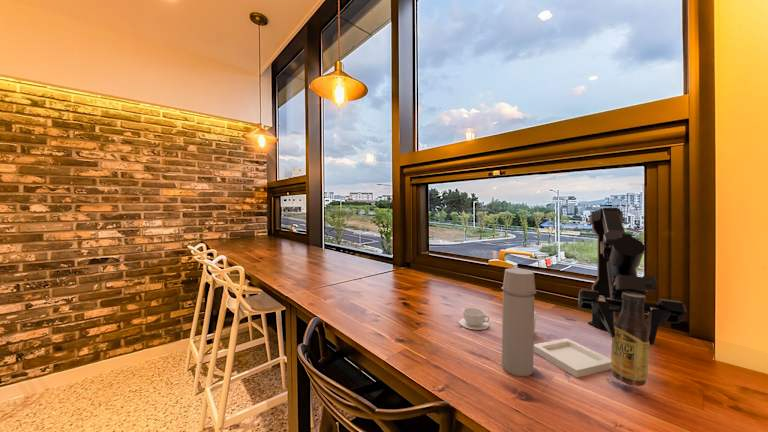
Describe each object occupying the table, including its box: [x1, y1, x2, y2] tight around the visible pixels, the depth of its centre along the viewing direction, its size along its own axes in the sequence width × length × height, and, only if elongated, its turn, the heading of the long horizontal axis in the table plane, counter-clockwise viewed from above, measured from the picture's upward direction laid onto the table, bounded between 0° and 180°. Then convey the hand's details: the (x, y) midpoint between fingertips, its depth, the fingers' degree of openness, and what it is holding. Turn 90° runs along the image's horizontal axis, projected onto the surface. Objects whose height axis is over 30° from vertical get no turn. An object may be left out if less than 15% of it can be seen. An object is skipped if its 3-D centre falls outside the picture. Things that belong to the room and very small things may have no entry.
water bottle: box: [500, 267, 537, 378], centre depth 70 cm, size 9×8×25 cm
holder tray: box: [533, 337, 611, 378], centre depth 75 cm, size 13×13×2 cm
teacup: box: [458, 307, 490, 331], centre depth 97 cm, size 10×10×5 cm
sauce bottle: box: [610, 291, 651, 387], centre depth 62 cm, size 7×6×20 cm
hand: (631, 340), depth 61 cm, fingers closed on sauce bottle, 6 cm apart
